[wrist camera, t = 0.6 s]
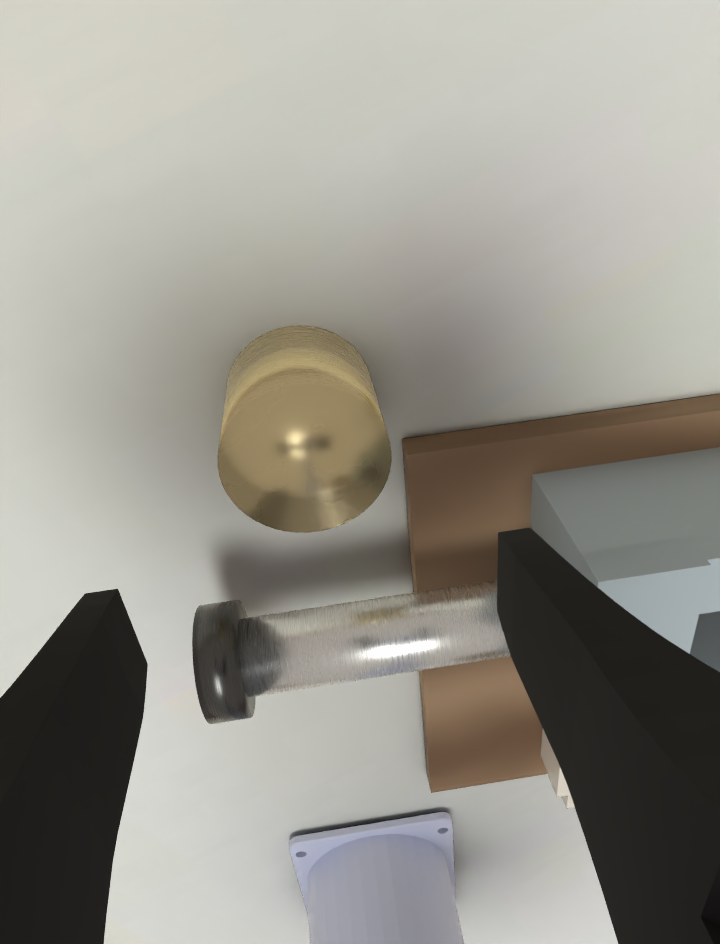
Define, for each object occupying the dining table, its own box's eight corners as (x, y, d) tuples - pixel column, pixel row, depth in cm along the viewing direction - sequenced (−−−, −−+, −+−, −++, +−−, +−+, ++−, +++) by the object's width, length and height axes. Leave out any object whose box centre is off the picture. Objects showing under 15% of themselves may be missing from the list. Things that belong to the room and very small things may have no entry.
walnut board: (758, 718, 32) (771, 736, 31) (426, 772, 31) (431, 792, 31) (879, 371, 22) (903, 384, 21) (402, 438, 22) (407, 455, 21)
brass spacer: (377, 446, 22) (396, 519, 18) (242, 466, 22) (236, 543, 18) (364, 315, 19) (384, 372, 16) (212, 336, 19) (199, 398, 16)
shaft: (587, 602, 24) (632, 682, 21) (222, 658, 24) (215, 748, 21) (596, 522, 22) (648, 597, 19) (199, 581, 22) (187, 669, 19)
